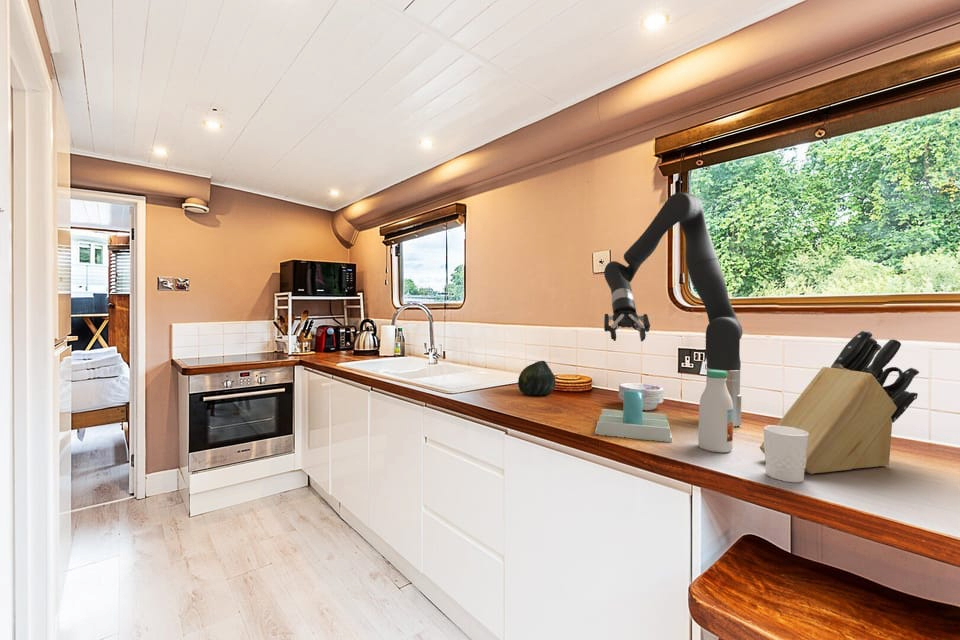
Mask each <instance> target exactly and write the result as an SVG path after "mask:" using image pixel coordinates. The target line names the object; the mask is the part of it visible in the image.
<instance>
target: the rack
mask: <svg viewBox="0 0 960 640" xmlns="http://www.w3.org/2000/svg"><path fill="white" fill-rule="evenodd" d="M669 422H670V421H669V420H668V414H666V413H656V412H655V413H653V412H644V411H643V416H642V425H634V424H623V410H619V409H609V408H608V409H607V408H606V409H605V408H602V409H601V414H599V419H598V420H597V421H596V428H595V429H594V435H596V434H599V435H598V436H605V435H607V437H615V436H617V438H624V437H626V439H635V440H646V441H653V440H654V441H655V442H656V441H657V442H663V441H664V442H666V443H673V436H672V431H671V428H670V427H671V426H670V425H669V424H670V423H669Z"/></svg>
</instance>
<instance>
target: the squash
mask: <svg viewBox="0 0 960 640" xmlns="http://www.w3.org/2000/svg"><path fill="white" fill-rule="evenodd" d="M517 383H518V384H517V385H518V389H519V391H520V392H521V393H522V395H523V394H524V395H526V396H533V395H535V396H537V395H539V396H542V397H547V396H549V395H550V394H552V392H553V391H554V390H555V387H556V377H555V374H554V373H553V371H552V370H551V368H550V366H549V365H548V363H547V362H546V361H545V360H539V361H535V362H534V363H532V364H529V365H527V366H526V367H524V369H523V370H522V371H521V372H520V373H519V375H518V381H517Z"/></svg>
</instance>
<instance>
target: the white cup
mask: <svg viewBox="0 0 960 640" xmlns="http://www.w3.org/2000/svg"><path fill="white" fill-rule="evenodd" d="M808 438H809V433H808V432H806V431H804V430H801V429H797V428H793V427H786V426H777V425H765V426H763V442H764V450H765V454H764V460H765V474H766V475H767V476H768V477H769V476H770V478H772V479H774V478H775V480H777V479H778V480H777V481H781V480H782V482H785V483H795V482H796V483H802V482H804V480H805V468H806V461H807V449H808Z"/></svg>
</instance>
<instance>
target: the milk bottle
mask: <svg viewBox="0 0 960 640" xmlns="http://www.w3.org/2000/svg"><path fill="white" fill-rule="evenodd" d="M706 377H707V380H708V381H707V385H706V384H705V385H706V386H705V388H704V390H703V392H702V394H701V395H700V399H699V407H698V408H699V409H698V441H697V442H698V446H699V448H701V449H702V450H704V451H708V452H713V453H723V454H724V453H730V452H732V450H733V442H734V441H733V438H734V437H733V434H734V427H733V402H732V399H731V396H730V394H729V392H728V389H727V386H726V380H727V372H726V371H722V370H707V369H706Z"/></svg>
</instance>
